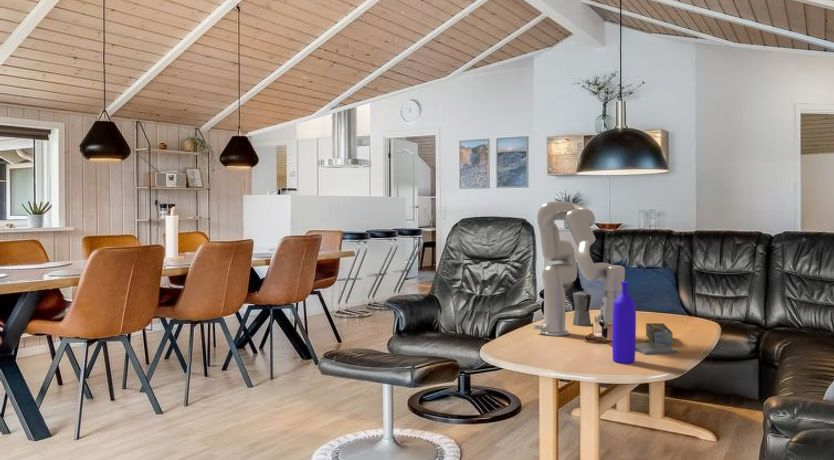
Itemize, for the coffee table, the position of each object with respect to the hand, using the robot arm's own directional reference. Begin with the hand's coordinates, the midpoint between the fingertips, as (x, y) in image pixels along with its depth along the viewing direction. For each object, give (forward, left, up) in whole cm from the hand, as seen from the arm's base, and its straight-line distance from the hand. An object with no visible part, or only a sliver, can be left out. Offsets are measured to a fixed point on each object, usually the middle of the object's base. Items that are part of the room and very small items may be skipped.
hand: (611, 336), depth 280 cm
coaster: (+12, -12, -3) cm, 17 cm away
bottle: (-9, -28, -4) cm, 30 cm away
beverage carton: (+24, +4, -4) cm, 25 cm away
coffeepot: (+8, +45, -4) cm, 46 cm away
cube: (0, 0, -1) cm, 1 cm away
